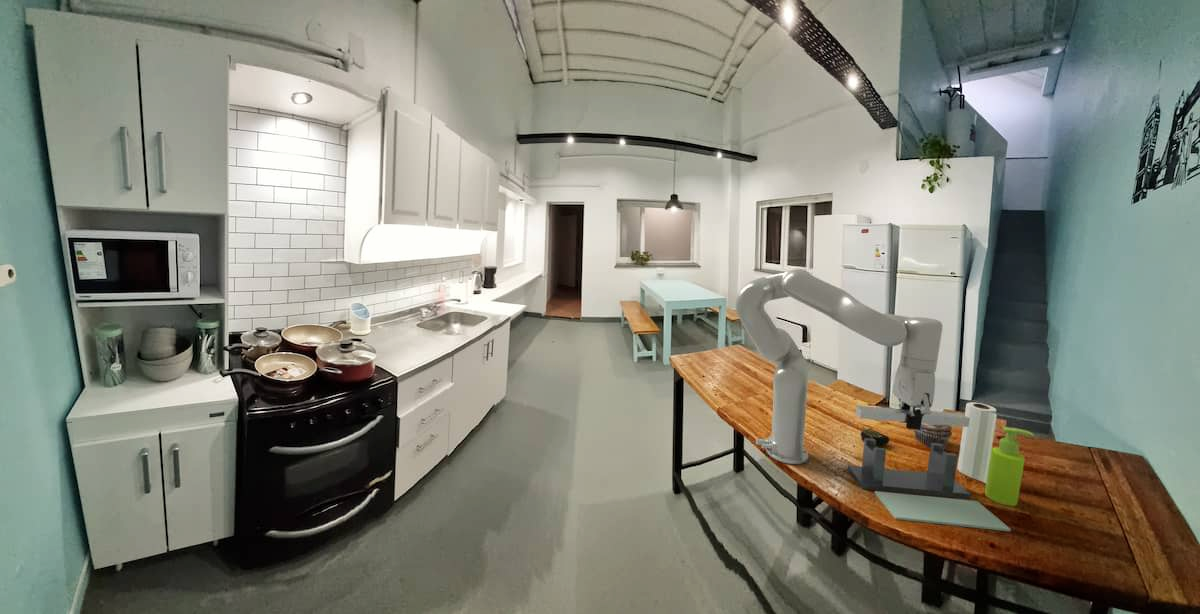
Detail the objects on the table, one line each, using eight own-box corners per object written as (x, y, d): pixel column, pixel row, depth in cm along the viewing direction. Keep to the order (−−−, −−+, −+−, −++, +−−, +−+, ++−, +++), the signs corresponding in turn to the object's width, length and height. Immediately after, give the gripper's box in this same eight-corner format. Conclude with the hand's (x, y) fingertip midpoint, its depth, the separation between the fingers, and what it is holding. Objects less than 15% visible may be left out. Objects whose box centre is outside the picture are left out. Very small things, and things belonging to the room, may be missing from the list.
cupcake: (923, 433, 132) (926, 407, 130) (956, 447, 123) (960, 419, 121) (905, 438, 129) (908, 412, 127) (937, 453, 120) (941, 424, 118)
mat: (895, 519, 92) (895, 516, 92) (874, 493, 101) (874, 491, 101) (1010, 531, 87) (1010, 529, 87) (976, 503, 97) (977, 501, 96)
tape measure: (889, 446, 125) (890, 436, 124) (875, 449, 123) (876, 439, 122) (869, 436, 131) (870, 426, 131) (855, 440, 129) (856, 430, 129)
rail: (860, 418, 103) (861, 410, 103) (855, 413, 106) (856, 405, 106) (968, 427, 98) (970, 418, 98) (960, 421, 101) (961, 413, 101)
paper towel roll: (957, 465, 113) (966, 399, 110) (985, 473, 109) (996, 405, 105) (956, 475, 108) (966, 407, 105) (986, 484, 104) (997, 413, 100)
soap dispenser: (1027, 510, 94) (1039, 437, 90) (989, 501, 97) (1000, 431, 94) (1017, 496, 98) (1029, 427, 95) (981, 488, 102) (991, 421, 99)
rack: (861, 488, 103) (865, 451, 102) (847, 469, 112) (850, 435, 110) (970, 499, 98) (976, 459, 96) (946, 478, 107) (951, 442, 105)
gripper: (885, 353, 108) (878, 411, 111) (921, 372, 92) (911, 439, 95) (914, 354, 107) (906, 413, 110) (956, 374, 91) (945, 442, 94)
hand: (908, 425), depth 103 cm, fingers closed on rail, 3 cm apart
